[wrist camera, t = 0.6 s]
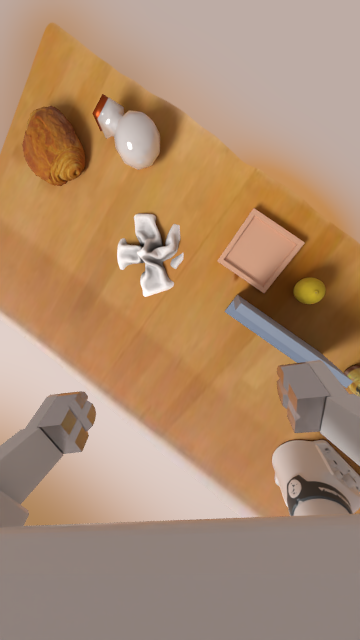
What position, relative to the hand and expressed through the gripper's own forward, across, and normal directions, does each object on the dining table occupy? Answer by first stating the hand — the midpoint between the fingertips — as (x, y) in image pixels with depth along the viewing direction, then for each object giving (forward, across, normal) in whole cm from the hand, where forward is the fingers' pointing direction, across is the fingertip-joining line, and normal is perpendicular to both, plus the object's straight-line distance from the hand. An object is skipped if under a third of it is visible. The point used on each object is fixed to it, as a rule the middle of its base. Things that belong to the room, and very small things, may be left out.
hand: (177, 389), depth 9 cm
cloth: (+50, -9, -4) cm, 51 cm away
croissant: (+60, -28, +21) cm, 70 cm away
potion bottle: (+57, -8, +18) cm, 60 cm away
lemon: (+41, +23, -18) cm, 50 cm away
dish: (+45, +15, -8) cm, 48 cm away
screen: (+38, +16, -26) cm, 49 cm away
